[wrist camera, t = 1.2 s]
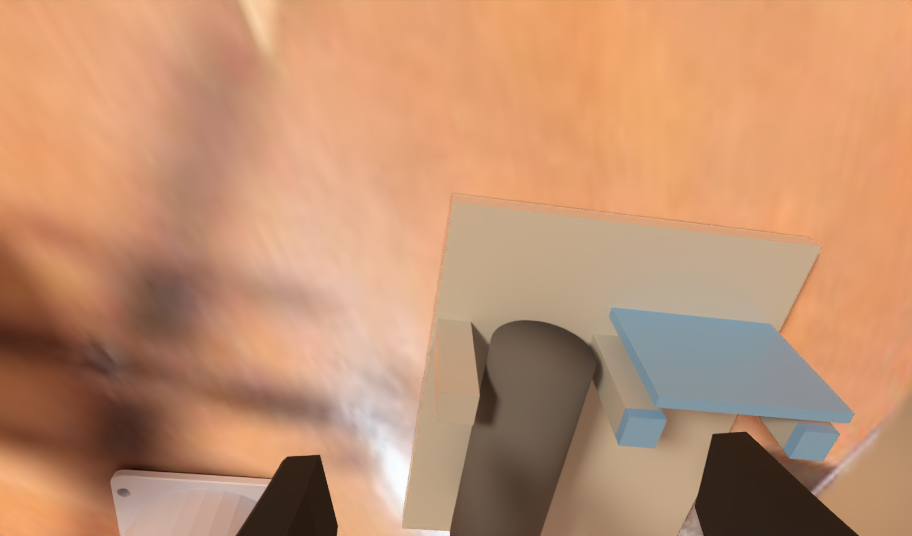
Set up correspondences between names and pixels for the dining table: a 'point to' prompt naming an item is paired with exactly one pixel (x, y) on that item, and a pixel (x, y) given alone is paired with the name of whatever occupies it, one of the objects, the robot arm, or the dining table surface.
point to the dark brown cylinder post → (522, 428)
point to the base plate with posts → (620, 354)
